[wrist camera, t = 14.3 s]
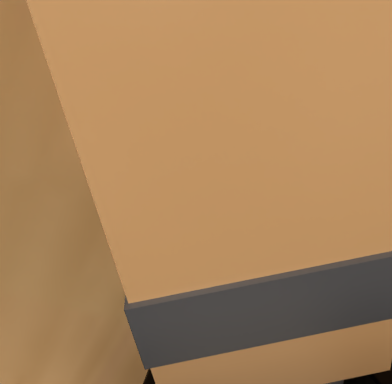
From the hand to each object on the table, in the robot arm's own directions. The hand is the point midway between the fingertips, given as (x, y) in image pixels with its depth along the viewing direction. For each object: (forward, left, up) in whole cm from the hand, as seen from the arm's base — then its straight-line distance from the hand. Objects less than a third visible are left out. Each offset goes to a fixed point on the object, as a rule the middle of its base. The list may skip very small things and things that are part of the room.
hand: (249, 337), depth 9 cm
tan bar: (+1, -7, -1) cm, 7 cm away
